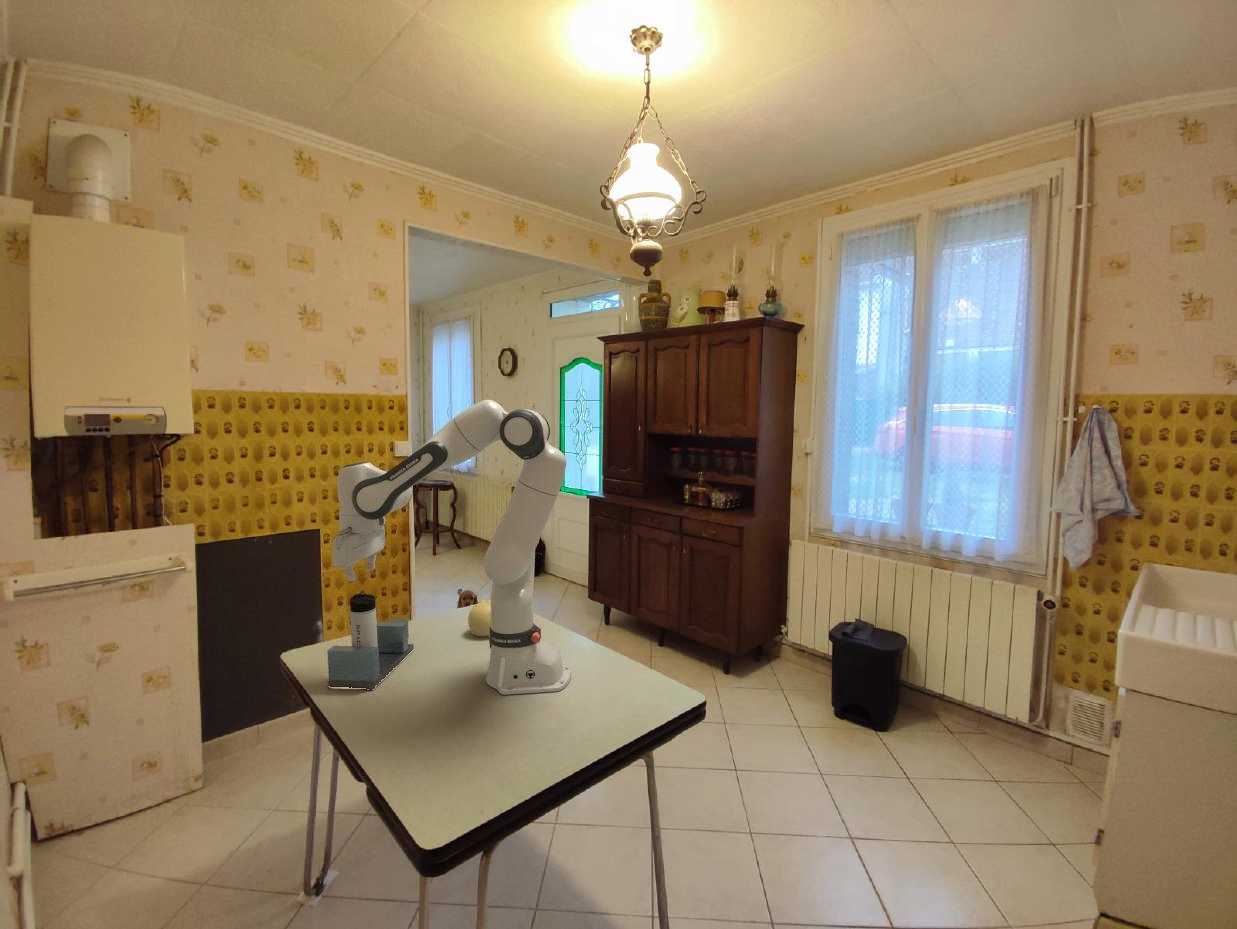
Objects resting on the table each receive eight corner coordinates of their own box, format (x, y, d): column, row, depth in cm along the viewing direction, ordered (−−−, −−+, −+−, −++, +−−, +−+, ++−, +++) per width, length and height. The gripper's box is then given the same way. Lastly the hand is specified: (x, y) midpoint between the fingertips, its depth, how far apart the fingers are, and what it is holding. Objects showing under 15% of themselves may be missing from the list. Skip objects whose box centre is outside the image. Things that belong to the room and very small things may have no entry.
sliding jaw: (381, 636, 171) (380, 612, 171) (419, 637, 171) (418, 612, 170) (363, 651, 161) (361, 625, 160) (403, 653, 160) (402, 626, 159)
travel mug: (371, 661, 155) (367, 591, 153) (382, 668, 151) (379, 596, 149) (348, 669, 150) (344, 596, 148) (359, 676, 146) (356, 602, 144)
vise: (374, 649, 167) (373, 617, 166) (413, 650, 166) (412, 618, 166) (328, 689, 143) (326, 651, 142) (373, 690, 143) (371, 652, 142)
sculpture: (513, 630, 182) (513, 598, 181) (487, 643, 172) (486, 609, 171) (488, 623, 188) (487, 592, 187) (461, 635, 178) (460, 602, 177)
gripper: (348, 532, 136) (351, 587, 137) (388, 516, 156) (390, 565, 158) (323, 532, 137) (327, 587, 138) (366, 516, 157) (369, 565, 158)
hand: (361, 575), depth 148 cm, fingers open, 8 cm apart
